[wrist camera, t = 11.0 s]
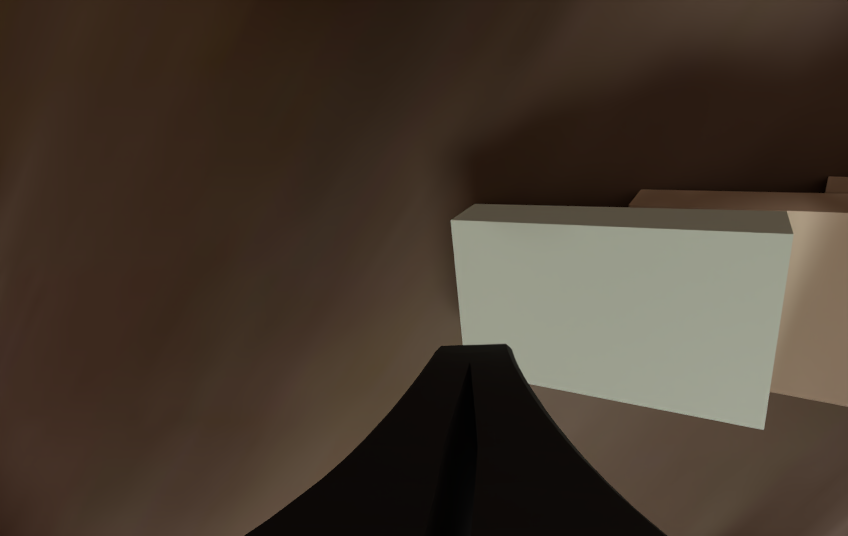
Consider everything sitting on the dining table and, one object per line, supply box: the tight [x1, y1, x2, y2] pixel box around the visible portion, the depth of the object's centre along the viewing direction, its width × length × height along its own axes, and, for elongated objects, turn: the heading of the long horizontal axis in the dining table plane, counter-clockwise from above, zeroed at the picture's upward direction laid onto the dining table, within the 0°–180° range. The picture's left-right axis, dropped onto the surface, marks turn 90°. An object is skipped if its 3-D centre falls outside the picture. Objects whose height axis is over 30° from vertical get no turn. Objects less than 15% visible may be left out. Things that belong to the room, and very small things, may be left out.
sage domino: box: [451, 204, 794, 430], centre depth 13 cm, size 2×4×7 cm
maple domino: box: [629, 189, 848, 407], centre depth 12 cm, size 2×4×7 cm
